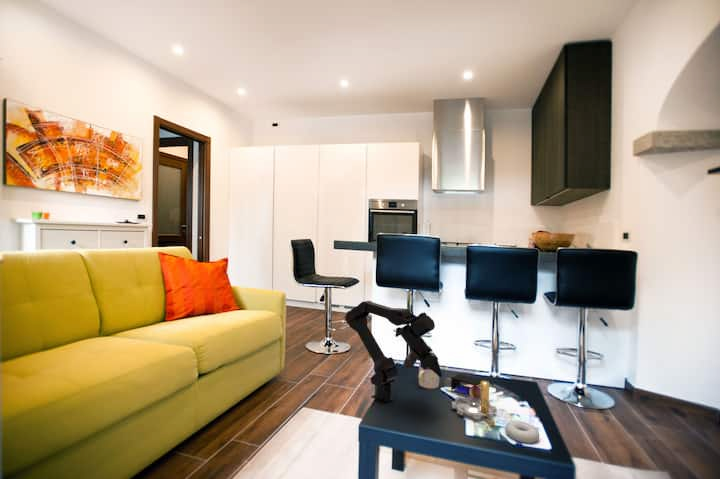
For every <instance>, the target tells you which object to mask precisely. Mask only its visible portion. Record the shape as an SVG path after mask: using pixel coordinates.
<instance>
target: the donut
mask: <svg viewBox="0 0 720 479" xmlns="http://www.w3.org/2000/svg"><path fill="white" fill-rule="evenodd" d="M504 431H505V432H506V434H507V435H508V437H510V438H511V439H513V440H514V441H517V442H519V443H522V444H523V443H525V444H533V443H535V442H537V441H538V440H539V438H540V433H539V430H538V429H537V428H536V427H535V426H534V425H533V424H530V423H528V422H525V421H520V420H511V421H509V422H507V423H506V425H505V430H504Z"/></svg>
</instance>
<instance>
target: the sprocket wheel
mask: <svg viewBox="0 0 720 479" xmlns="http://www.w3.org/2000/svg"><path fill="white" fill-rule="evenodd" d="M480 389H481V395H480V398H479V399H475V397H471V396H470V395H468V397H461V396H458V397H456V398H454V399H455V401H451V407H452V408H451V409H456V413H457V414H458V415H460V416H467V417H471V418H472V419H474V420H481V418H482V419H483V418H487V419H492V418H495V414H497V411H498V410H497V406H496V405H491V402H490V382H489V381H488V380H484V381H481V384H480Z"/></svg>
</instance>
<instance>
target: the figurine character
mask: <svg viewBox="0 0 720 479" xmlns="http://www.w3.org/2000/svg"><path fill="white" fill-rule="evenodd" d="M481 381H485V380H483V379H480V378H475V377H473V376H468V375H466V374H462V373H458V374H457V375H456V374H455V375H452V376H451V377H447V378H444V381H443V382H444V384H445V386H446V387H447V388H451V389H450V390H451V391H450V392H452V391H454V392H453V393H460V394H464V395H468V396H469V397H475V399H479V400H480V395H481V387H479V385H481ZM462 383H463V384H462ZM464 384H468V385H471V386H468V385H464ZM454 389H455V390H454Z"/></svg>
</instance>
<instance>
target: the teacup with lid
mask: <svg viewBox="0 0 720 479" xmlns="http://www.w3.org/2000/svg"><path fill="white" fill-rule="evenodd" d="M439 366H440V367H441V365H440V364H439ZM418 368H419V369H418V385H419V386H420V387H422V388H425V389H430V390H431V389H437V388H439V385H440V377H439V376H438V375H437V374H436V373H434V372H433V371H432V370H431V369H430V368H427V369H425V370H424V369H423V368H422V367H421V365H420V362H418Z"/></svg>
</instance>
